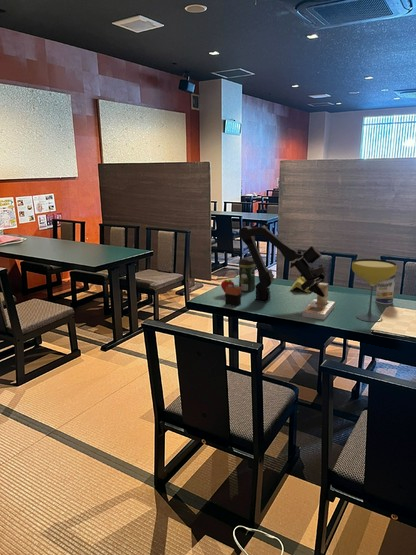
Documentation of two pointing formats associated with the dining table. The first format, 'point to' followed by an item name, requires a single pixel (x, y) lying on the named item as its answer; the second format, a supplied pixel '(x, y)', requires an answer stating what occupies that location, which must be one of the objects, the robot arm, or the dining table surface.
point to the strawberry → (226, 284)
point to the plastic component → (299, 284)
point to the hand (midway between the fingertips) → (325, 295)
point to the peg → (325, 291)
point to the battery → (233, 295)
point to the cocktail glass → (373, 278)
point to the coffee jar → (247, 274)
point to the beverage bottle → (385, 290)
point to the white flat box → (318, 310)
